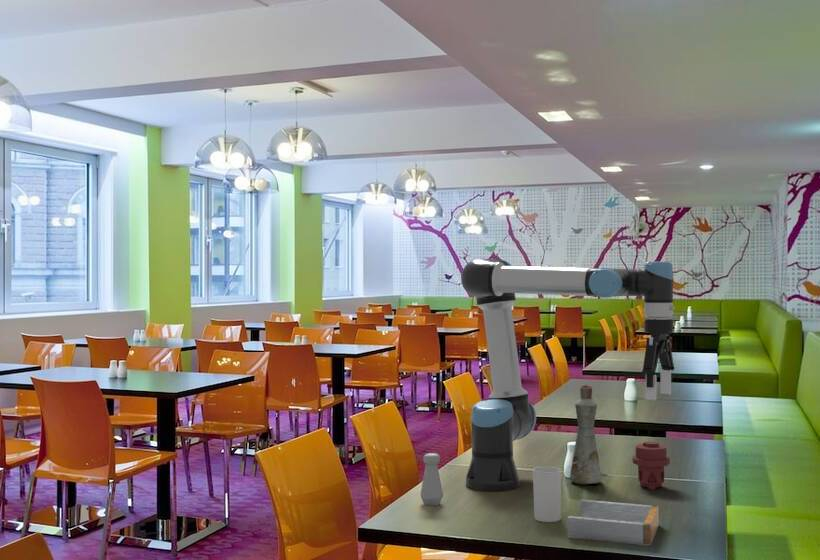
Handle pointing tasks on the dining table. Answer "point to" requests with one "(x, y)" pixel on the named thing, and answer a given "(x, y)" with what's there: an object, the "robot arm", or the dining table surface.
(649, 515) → the channel
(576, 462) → the bottle
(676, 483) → the dining table surface
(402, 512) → the dining table surface
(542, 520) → the mug
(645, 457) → the mechanical component
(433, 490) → the salt shaker
